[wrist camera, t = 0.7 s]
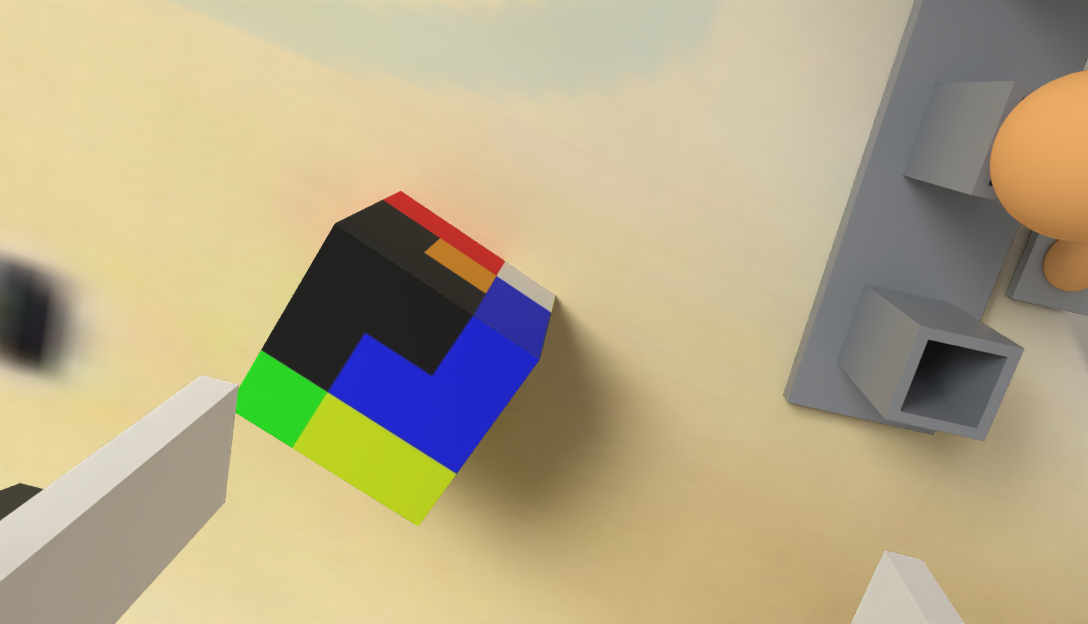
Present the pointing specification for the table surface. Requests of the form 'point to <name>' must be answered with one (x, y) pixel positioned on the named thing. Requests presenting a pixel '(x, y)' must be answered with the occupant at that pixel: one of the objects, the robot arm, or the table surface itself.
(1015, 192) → the orange ball
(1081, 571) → the table surface
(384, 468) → the puzzle toy
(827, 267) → the ball display stand
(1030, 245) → the card
